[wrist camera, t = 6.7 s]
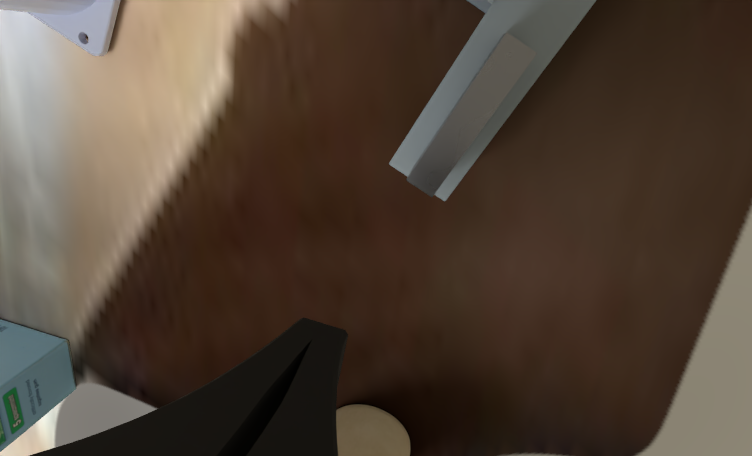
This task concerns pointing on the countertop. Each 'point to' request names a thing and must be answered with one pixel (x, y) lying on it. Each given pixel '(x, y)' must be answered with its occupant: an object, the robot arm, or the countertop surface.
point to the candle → (370, 432)
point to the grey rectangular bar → (471, 113)
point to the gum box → (30, 377)
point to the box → (503, 14)
